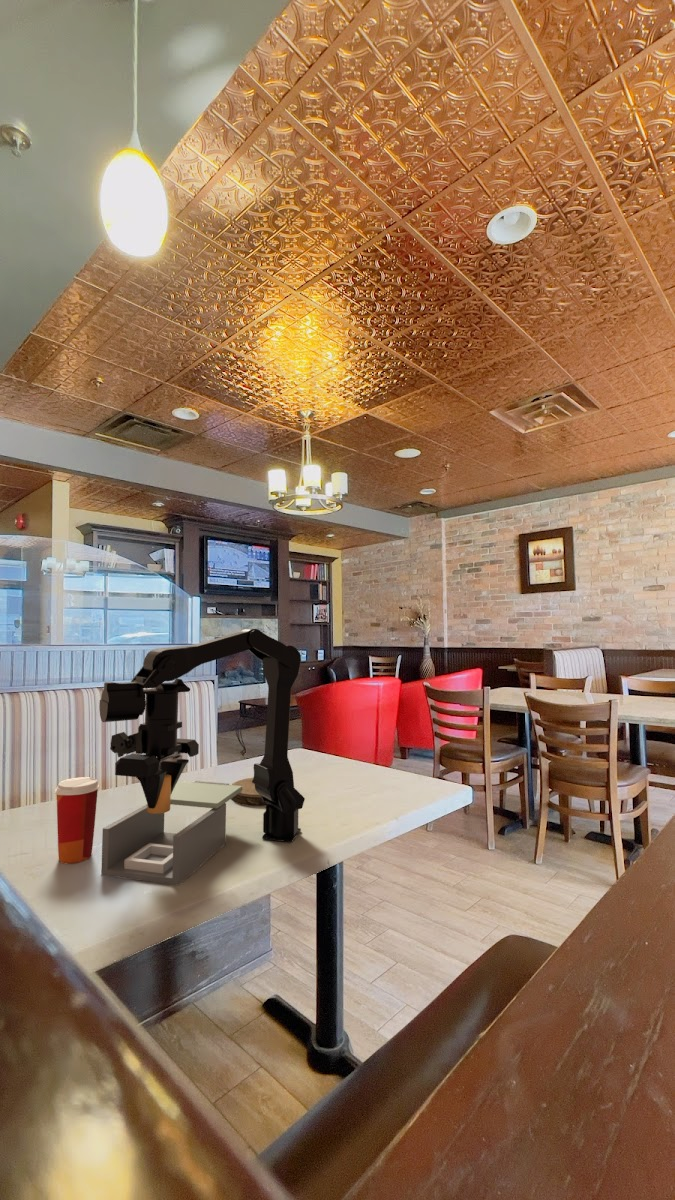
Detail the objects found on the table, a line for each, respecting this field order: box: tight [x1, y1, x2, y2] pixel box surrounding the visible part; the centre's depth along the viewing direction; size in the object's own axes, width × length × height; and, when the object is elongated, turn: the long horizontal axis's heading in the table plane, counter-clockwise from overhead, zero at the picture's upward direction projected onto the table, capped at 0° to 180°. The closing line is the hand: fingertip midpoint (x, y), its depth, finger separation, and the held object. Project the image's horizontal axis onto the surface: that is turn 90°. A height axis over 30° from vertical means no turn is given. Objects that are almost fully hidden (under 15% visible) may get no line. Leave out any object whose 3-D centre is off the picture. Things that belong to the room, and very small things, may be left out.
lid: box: [170, 780, 242, 809], centre depth 113 cm, size 15×13×3 cm
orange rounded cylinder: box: [146, 774, 171, 814], centre depth 98 cm, size 4×4×6 cm
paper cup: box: [54, 776, 100, 865], centre depth 102 cm, size 8×8×14 cm
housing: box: [100, 802, 227, 886], centre depth 101 cm, size 15×18×8 cm
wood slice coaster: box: [230, 777, 268, 807], centre depth 139 cm, size 16×16×3 cm
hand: (158, 804), depth 98 cm, fingers closed on orange rounded cylinder, 4 cm apart
